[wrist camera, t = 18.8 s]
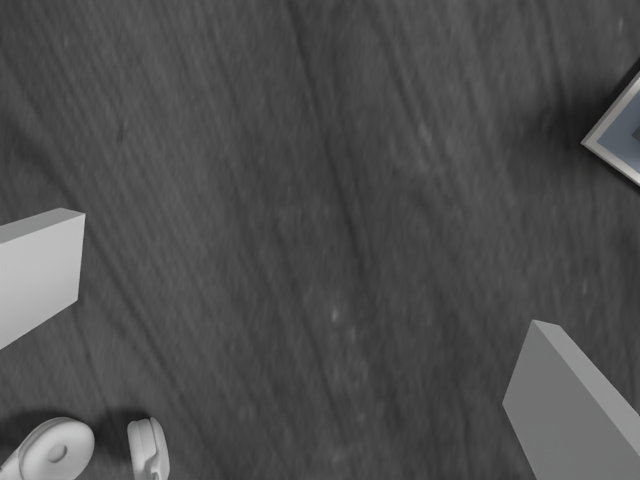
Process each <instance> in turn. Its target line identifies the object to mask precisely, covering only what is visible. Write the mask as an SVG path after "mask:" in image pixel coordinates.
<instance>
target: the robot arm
mask: <svg viewBox="0 0 640 480" xmlns="http://www.w3.org/2000/svg"><path fill="white" fill-rule="evenodd" d="M84 223H85V213H80V212H76V211H72V210H68V209H63V208H58V209H54V210H51V211H48V212H45V213H42V214H38V215H35V216H32V217H29V218H25V219H22V220H19V221H16V222H13V223H9V224H6V225H3V226H0V350H1V349H2V348H4V347H5V346H7V345H8V344H10V343H12V342H13V341H15V340H16V339H18V338H19V337H21V336H22V335H24V334H26V333H27V332H29V331H30V330H32V329H33V328H35V327H36V326H38V325H40V324H41V323H43V322H44V321H46V320H47V319H49V318H50V317H52V316H53V315H55V314H57V313H58V312H60V311H61V310H63V309H64V308H66V307H67V306H69V305H71V304H72V303H74V302H75V301H77V298H78V287H79V276H80V266H81V255H82V244H83V233H84ZM502 404H503V406H504V408H505V411H506V413H507V415H508V417H509V419H510V422H511V424H512V426H513V428H514V430H515V433H516V435H517V437H518V439H519V441H520V444H521V446H522V448H523V450H524V452H525V455H526V457H527V459H528V461H529V463H530V466H531V468H532V470H533V472H534V474H535V477H536V479H537V480H640V416H639V415H638V414H637V413H636V412H635V410H634V409H633V408H632V407H631V406H630V405H629V404H628V403H627V401H626V400H625V399H624V398H623V397H622V396H621V395H620V394H619V392H618V391H617V390H616V389H615V388H614V387H613V386H612V385H611V383H610V382H609V381H608V380H607V379H606V378H605V377H604V376H603V374H602V373H601V372H600V371H599V370H598V369H597V368H596V366H595V365H594V364H593V363H592V362H591V361H590V360H589V359H588V357H587V356H586V355H585V354H584V353H583V352H582V351H581V350H580V348H579V347H578V346H577V345H576V344H575V343H574V342H573V341H572V339H571V338H570V337H569V336H568V335H567V334H566V333H565V332H564V330H563V329H562V328H561V327H560V326H558V325H554V324H550V323H546V322H541V321H537V320H533V319H532V322H531V324H530V327H529V330H528V333H527V336H526V338H525V341H524V344H523V347H522V350H521V352H520V355H519V358H518V361H517V364H516V367H515V369H514V372H513V375H512V378H511V381H510V383H509V386H508V389H507V392H506V395H505V397H504V400H503V403H502Z"/></svg>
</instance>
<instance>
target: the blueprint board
mask: <svg viewBox="0 0 640 480" xmlns="http://www.w3.org/2000/svg"><path fill="white" fill-rule="evenodd" d="M581 144H582V145H584V146H585V147H586V148H588V149H589V150H591V151H592V152H593V153H595V154H596V155H597V156H599V157H600V158H602V159H603V160H604V161H606V162H607V163H608V164H610V165H611V166H612V167H614V168H615V169H617V170H618V171H619V172H621V173H622V174H623V175H625V176H626V177H628V178H629V179H630V180H632V181H633V182H634V183H636V184H637V185H639V186H640V71H639V72H638V74H637V75H636V76H635V77H634V78H633V80H632V81H631V82H630V83H629V84H628V86H627V87H626V88H625V89H624V91H623V92H622V93H621V94H620V95H619V97H618V98H617V99H616V100H615V101H614V103H613V104H612V105H611V106H610V107H609V109H608V110H607V111H606V112H605V113H604V115H603V116H602V117H601V118H600V120H599V121H598V122H597V123H596V124H595V126H594V127H593V128H592V129H591V130H590V132H589V133H588V134H587V135H586V136H585V138H584V139H583V140H582V141H581Z"/></svg>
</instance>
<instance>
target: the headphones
mask: <svg viewBox="0 0 640 480" xmlns="http://www.w3.org/2000/svg"><path fill="white" fill-rule="evenodd" d="M127 431H128V439H129V445H130V452H131V458H132V464H133V470H134V476H135V480H167V478H168V475H169V470H170V466H169V457H168V451H167V446H166V441H165V437H164V433H163V430H162V428H161V426H160V424H159V423H158V422H157V421H156V419H155V418H153V417H151V418H150V421H149V420H148V419H142V420H139V421H132V422H131V423H129V425H128V428H127ZM94 442H95V441H94V435H93V432H92V430H91V429H90V428H89V427H88V426H87V425H86V424H84V423H82V422H80V421H77V420H74V419H72V418H69V417H57V418H53V419H50V420H48V421H46V422H44V423H42V424H40V425H39V426H38V427H36V428H35V429H34V430H33V431H32V432H31V433H30V434H29V435H28V436H27V437H26V438H25V440H24V441H23V442H22V443H21V445H20V446H19V447H18V448H17V449H16V450H15V451H14V452H13V453H12V454H11V455H10V457H9V458H8V459H7V460H6V461H5V462H4V464H3V465H2V466H1V470H0V480H74V479H75V478H76V477H77V476H78V475H79V474H80V473H81V472H82V471H83V470H84V468H85V467H86V466H87V464H88V462H89V461H90V459H91V456H92V454H93V450H94Z"/></svg>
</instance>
